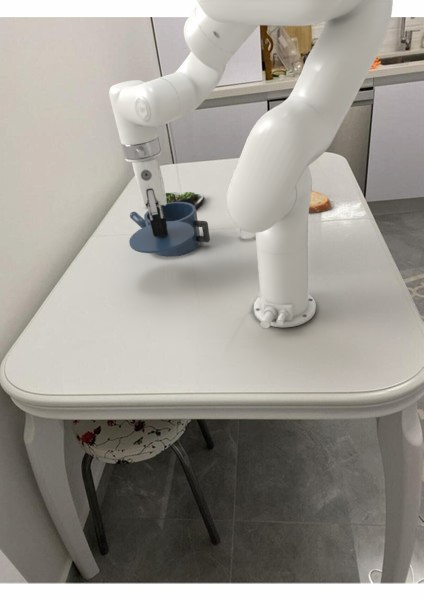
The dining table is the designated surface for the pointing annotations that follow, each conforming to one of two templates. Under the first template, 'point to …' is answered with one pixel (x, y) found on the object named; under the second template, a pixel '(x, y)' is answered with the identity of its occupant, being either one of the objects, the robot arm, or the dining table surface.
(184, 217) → the teapot
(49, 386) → the dining table surface
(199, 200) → the salad plate
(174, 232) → the teapot lid
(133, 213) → the teapot spout and handle
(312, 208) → the slice of bread
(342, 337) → the dining table surface
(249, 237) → the eye dropper bottle
